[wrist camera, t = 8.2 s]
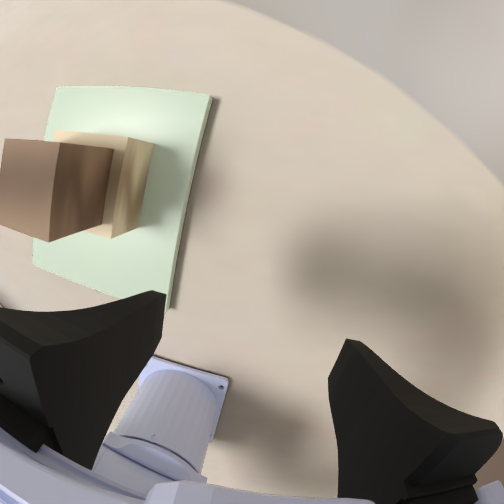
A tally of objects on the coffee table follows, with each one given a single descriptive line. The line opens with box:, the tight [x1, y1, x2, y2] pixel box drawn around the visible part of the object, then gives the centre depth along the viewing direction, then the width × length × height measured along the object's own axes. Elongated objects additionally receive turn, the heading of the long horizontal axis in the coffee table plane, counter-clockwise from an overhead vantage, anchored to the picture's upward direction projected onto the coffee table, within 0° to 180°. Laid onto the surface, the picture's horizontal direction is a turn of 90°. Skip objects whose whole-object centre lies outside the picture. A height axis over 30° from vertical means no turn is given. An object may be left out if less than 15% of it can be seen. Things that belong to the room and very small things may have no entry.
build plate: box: [33, 86, 213, 313], centre depth 20 cm, size 16×14×1 cm
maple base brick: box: [53, 130, 155, 239], centre depth 17 cm, size 6×6×4 cm
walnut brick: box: [0, 139, 114, 243], centre depth 13 cm, size 4×4×5 cm
